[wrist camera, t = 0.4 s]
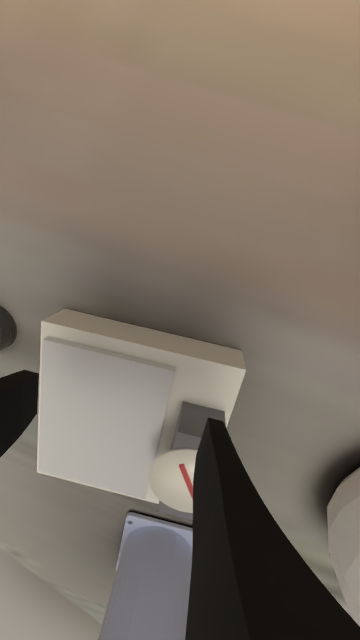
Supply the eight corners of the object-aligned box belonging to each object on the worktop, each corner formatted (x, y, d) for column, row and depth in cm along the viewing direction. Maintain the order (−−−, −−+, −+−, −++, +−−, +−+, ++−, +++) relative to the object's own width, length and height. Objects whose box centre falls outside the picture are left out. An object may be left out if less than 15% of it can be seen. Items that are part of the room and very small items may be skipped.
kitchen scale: (205, 483, 24) (203, 564, 18) (56, 445, 25) (7, 512, 19) (248, 352, 20) (265, 404, 14) (64, 308, 20) (3, 340, 14)
